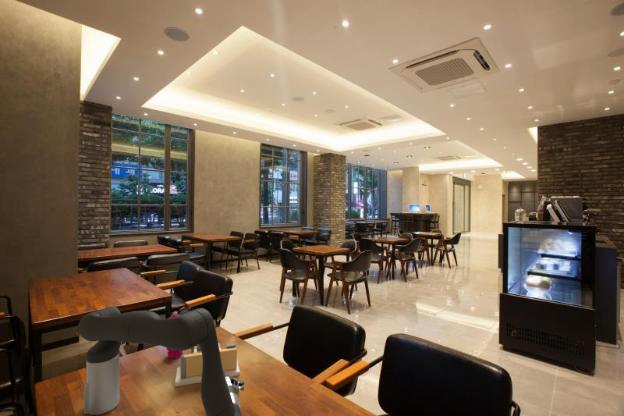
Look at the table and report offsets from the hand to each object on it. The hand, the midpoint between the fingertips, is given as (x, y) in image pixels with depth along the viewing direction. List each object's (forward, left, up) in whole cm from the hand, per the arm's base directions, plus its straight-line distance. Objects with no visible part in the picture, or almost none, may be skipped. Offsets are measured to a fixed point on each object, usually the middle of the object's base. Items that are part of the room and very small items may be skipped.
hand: (223, 374), depth 110 cm
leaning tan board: (-5, +13, -5) cm, 15 cm away
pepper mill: (-19, +35, -7) cm, 41 cm away
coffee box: (-7, +30, -7) cm, 32 cm away
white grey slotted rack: (-5, +16, -7) cm, 18 cm away
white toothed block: (-6, +18, -6) cm, 20 cm away
